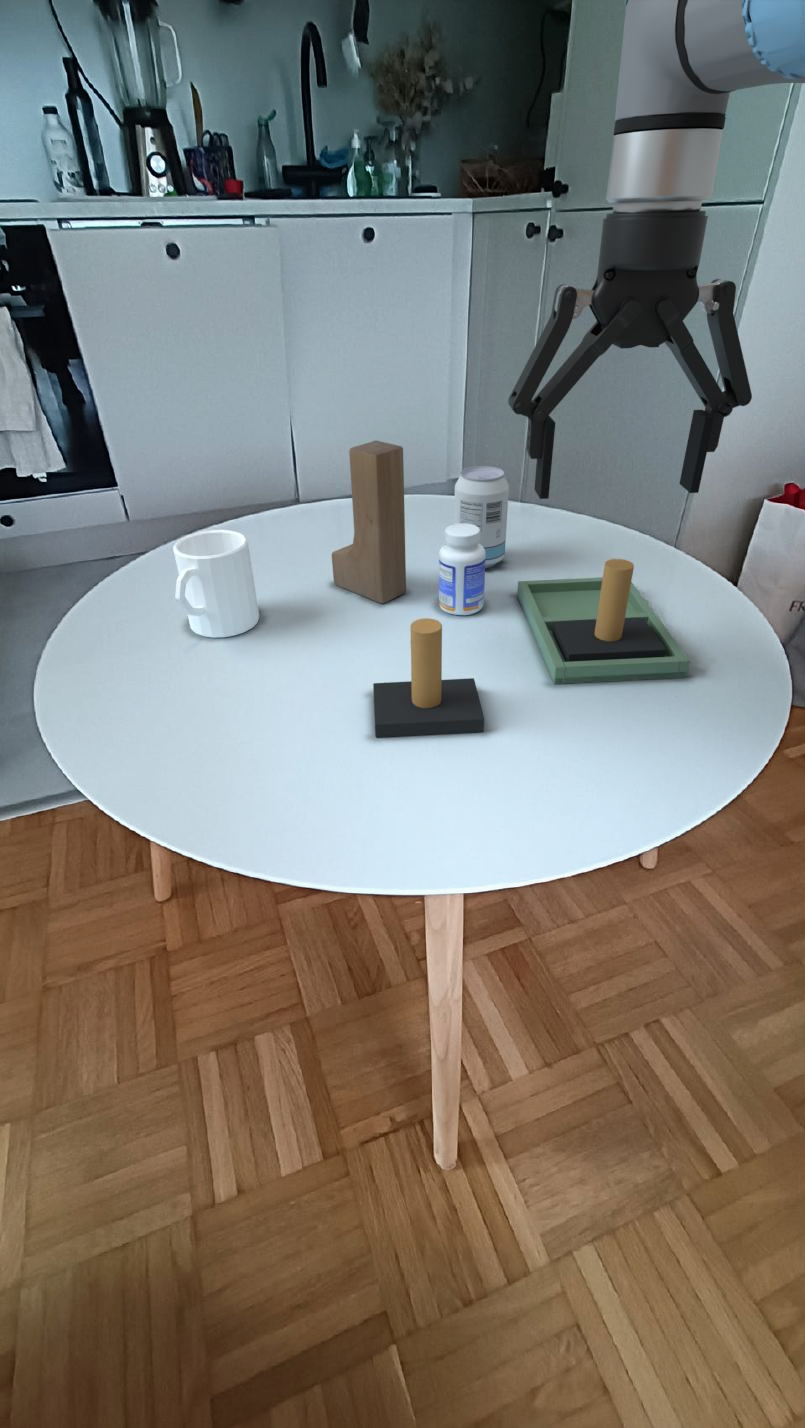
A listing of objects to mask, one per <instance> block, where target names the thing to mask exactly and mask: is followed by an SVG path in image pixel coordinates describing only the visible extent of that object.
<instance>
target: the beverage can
mask: <svg viewBox="0 0 805 1428" xmlns="http://www.w3.org/2000/svg"><path fill="white" fill-rule="evenodd" d="M509 492H510V485H509V483H508V481H507V478H506V477H505V471H504V470H503V469H501V468H499V467H495V466H488V465H487V466H486V465H480V466H479V465H478V466H477V465H476V466H469V467H466V468H464V469H461V470H460V474H459V477H458V478H457V481H456V482H455V485H454V501H453V502H454V504H453V506H454V507H453V508H454V509H453V524H458V523H467V524H472V525H475V526H477V527H478V528H479V529H480V541H479V544H480V545H482V546H483V548H484V549H485V569H490V568H492V567H494V566H495V565H496V564H498V563H500V562H501V561H502V560H504V558H505V556H506V541H507V524H508V509H509V508H508V507H509V506H508V505H509Z"/></svg>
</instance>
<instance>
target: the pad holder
mask: <svg viewBox="0 0 805 1428" xmlns="http://www.w3.org/2000/svg"><path fill="white" fill-rule="evenodd" d="M602 579H603V576H602V577H601V576H600V577H585V578H584V577H583V578H582V577H581V578H580V577H579V578H562V579H561V578H560V579H559V578H557V579H537V580H536V579H535V580H522V581H521V580H520V581H519V580H518V581H517V591H516V597H517V600H518V602H519V604H520V607H521V609H522V611H523V614H524V616H525V619H526V621H527V624H528V625H529V628H530V630H531V633H532V635H533V638H534V641H535V642H536V645H537V647H538V650H539V652H540V655H541V657H542V659H543V662H544V663H545V666H546V668H547V671H548V673H549V676H550V678H551V681H552V683H553V684H555V685H558V684H559V685H560V684H562V685H563V684H579V683H581V684H583V683H599V682H600V683H602V682H620V681H641V680H660V679H661V680H662V679H679V678H680V679H681V678H687V675H688V670H689V667H690V664H691V663H690V662H691V660H690V658H688V656H687V655H686V653H685V652H684V650H683V649H682V648H681V647H680V645H679V644H678V643H677V641H676V640H675V639H674V637H673V636H672V634H671V633H670V632H669V631H668V629H667V628H666V626H665V625H664V624H663V623H662V621H661V620H660V618H659V617H658V615H657V614H656V612H654V610H653V609H652V608H651V606H650V604H649V603H648V602H647V601H646V599H645V598H644V597H643V596H642V594H641V593H640V591H639V590H638V589H637V586H635V584H634V583H633V582H632V581H631V586H630V592H629V598H628V603H627V609H626V615H625V619H628V618H644V619H645V620H646V622H647V623H648V625H649V626H650V627H651V629H652V630H653V632H654V633H655V635H656V636H657V637H658V639H659V640H660V642H661V643H662V645H663V646H664V647H665V649H666V652H665V657H655V658H634V659H614V660H593V661H573V662H565V660H564V657H563V655H562V653H561V651H560V649H559V647H558V644H557V642H556V640H555V638H554V636H553V634H552V633H553V624H554V622H565V621H586V620H597V613H598V606H599V600H600V593H601V586H602Z"/></svg>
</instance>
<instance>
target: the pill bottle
mask: <svg viewBox="0 0 805 1428" xmlns="http://www.w3.org/2000/svg"><path fill="white" fill-rule="evenodd" d="M443 539H444V542H445V544H444V545H442V546H441V547H440V548H439V551H438V604H439V607H440V609H441V610H442V611H444V613H448V614H450V615H455V616H470V615H473V614H476V613H477V612H480V611H481V610H482V609H483V607H484V604H485V603H484V602H485V584H486V583H485V582H486V581H485V579H486V577H485V576H486V568H485V549H484V548H483V546H482V545H480V544H479V541H480V529H479V528H478V527H477V526H475V525H472V524H467V523H458V524H454V523H453V524H450V525H448V526H446V527H445V529H444V538H443Z"/></svg>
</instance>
